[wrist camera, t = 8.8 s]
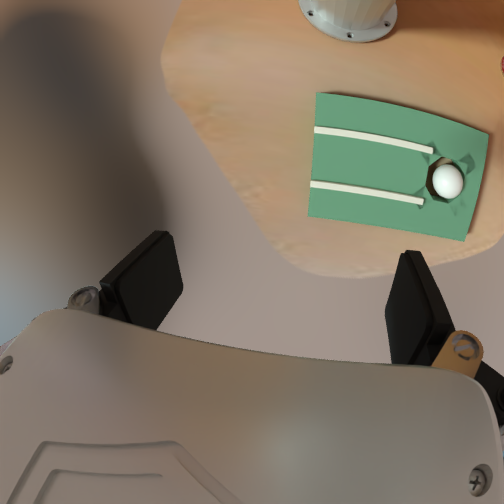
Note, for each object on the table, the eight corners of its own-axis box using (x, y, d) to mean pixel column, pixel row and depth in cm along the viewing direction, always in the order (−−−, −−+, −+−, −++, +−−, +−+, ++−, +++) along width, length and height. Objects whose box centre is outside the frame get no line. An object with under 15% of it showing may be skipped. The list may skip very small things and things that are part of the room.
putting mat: (316, 93, 29) (316, 92, 26) (480, 132, 24) (491, 135, 22) (308, 209, 37) (307, 218, 35) (458, 234, 32) (465, 243, 30)
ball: (429, 180, 31) (426, 163, 28) (454, 171, 29) (454, 153, 26) (440, 208, 30) (439, 193, 26) (467, 198, 27) (468, 182, 24)
